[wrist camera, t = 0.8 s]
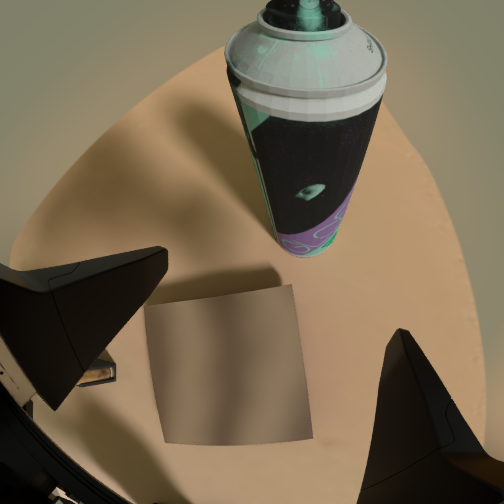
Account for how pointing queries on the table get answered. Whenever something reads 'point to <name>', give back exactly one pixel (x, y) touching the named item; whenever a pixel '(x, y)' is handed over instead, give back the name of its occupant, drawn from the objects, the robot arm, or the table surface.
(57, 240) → the table surface
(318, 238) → the spray can
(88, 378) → the ammunition clip
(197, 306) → the flat square brown plate
